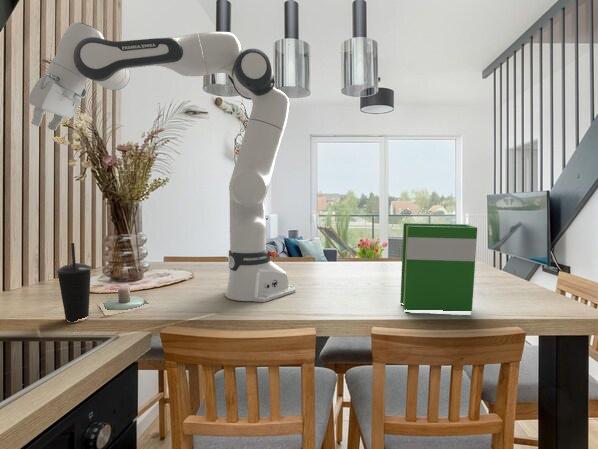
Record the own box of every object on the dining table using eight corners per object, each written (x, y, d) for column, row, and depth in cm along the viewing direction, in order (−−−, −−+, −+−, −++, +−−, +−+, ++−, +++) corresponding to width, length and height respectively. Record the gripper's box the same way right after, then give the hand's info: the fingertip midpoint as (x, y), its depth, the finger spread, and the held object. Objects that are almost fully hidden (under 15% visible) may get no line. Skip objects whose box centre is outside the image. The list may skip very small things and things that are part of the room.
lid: (138, 298, 113) (137, 282, 112) (148, 307, 105) (147, 290, 104) (101, 304, 106) (100, 288, 106) (108, 314, 99) (107, 297, 98)
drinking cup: (79, 328, 91) (73, 246, 88) (52, 325, 92) (46, 245, 90) (101, 317, 98) (97, 241, 96) (76, 314, 100) (71, 240, 97)
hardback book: (404, 313, 103) (408, 226, 100) (400, 304, 110) (403, 223, 108) (471, 316, 101) (477, 227, 98) (462, 307, 108) (468, 224, 106)
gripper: (60, 77, 93) (38, 128, 94) (88, 94, 113) (69, 136, 113) (34, 64, 92) (11, 116, 92) (67, 84, 111) (48, 126, 112)
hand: (43, 127), depth 103 cm, fingers open, 8 cm apart
